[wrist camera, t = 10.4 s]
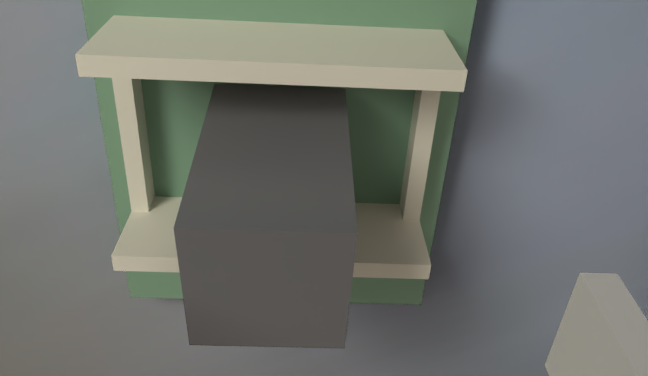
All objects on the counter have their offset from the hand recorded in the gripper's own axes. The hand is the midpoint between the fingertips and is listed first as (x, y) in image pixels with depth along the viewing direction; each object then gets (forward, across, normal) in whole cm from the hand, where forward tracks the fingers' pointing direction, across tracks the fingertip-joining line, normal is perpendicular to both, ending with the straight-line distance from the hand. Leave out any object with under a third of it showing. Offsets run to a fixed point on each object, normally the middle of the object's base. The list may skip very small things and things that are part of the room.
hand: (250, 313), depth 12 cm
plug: (+9, 0, -1) cm, 9 cm away
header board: (+11, 0, -1) cm, 11 cm away
